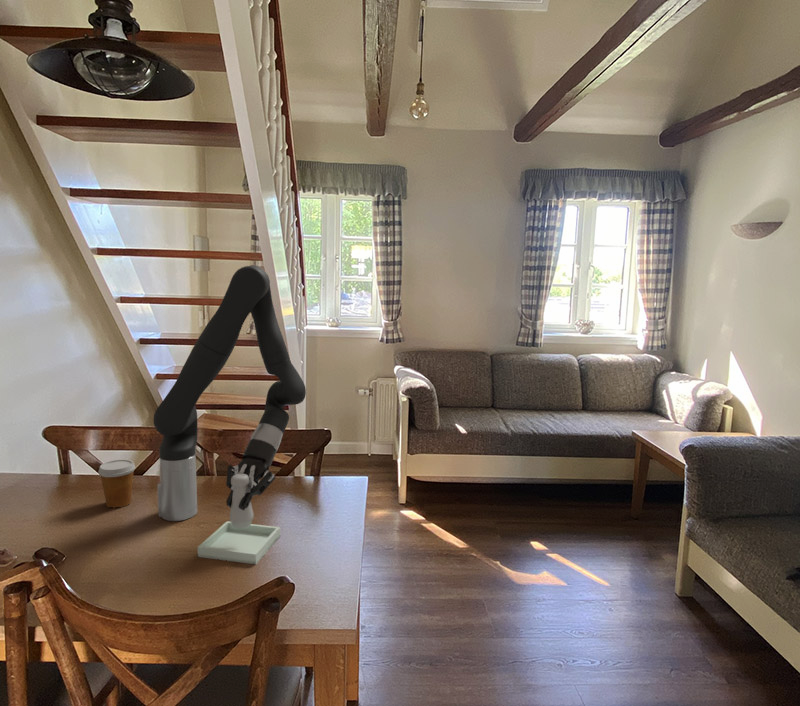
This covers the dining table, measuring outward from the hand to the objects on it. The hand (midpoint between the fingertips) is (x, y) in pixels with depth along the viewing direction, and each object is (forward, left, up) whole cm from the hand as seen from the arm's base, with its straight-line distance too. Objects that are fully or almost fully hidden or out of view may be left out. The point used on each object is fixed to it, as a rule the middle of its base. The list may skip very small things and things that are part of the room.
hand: (235, 507), depth 129 cm
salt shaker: (+1, +2, -6) cm, 6 cm away
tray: (0, +2, -11) cm, 11 cm away
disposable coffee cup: (-46, +16, -11) cm, 50 cm away
